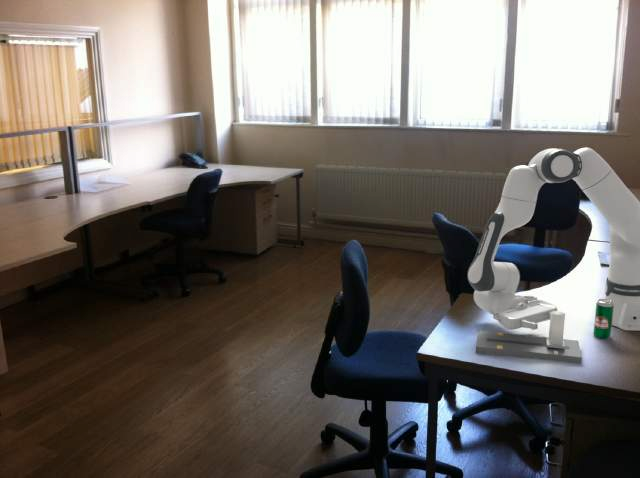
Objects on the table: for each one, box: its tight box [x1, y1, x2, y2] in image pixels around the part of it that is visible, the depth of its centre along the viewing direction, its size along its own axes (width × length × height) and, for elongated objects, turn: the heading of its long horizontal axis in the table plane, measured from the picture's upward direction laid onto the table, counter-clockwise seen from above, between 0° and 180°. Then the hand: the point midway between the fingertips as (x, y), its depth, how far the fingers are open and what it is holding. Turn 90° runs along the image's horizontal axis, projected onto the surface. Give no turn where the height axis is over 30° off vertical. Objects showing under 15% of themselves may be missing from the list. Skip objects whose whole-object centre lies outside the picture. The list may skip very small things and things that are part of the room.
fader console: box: [475, 330, 583, 365], centre depth 195 cm, size 30×12×2 cm, turn 73°
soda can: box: [593, 298, 614, 340], centre depth 202 cm, size 5×5×12 cm
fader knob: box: [545, 310, 566, 349], centre depth 191 cm, size 5×5×10 cm
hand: (547, 323), depth 194 cm, fingers open, 8 cm apart
